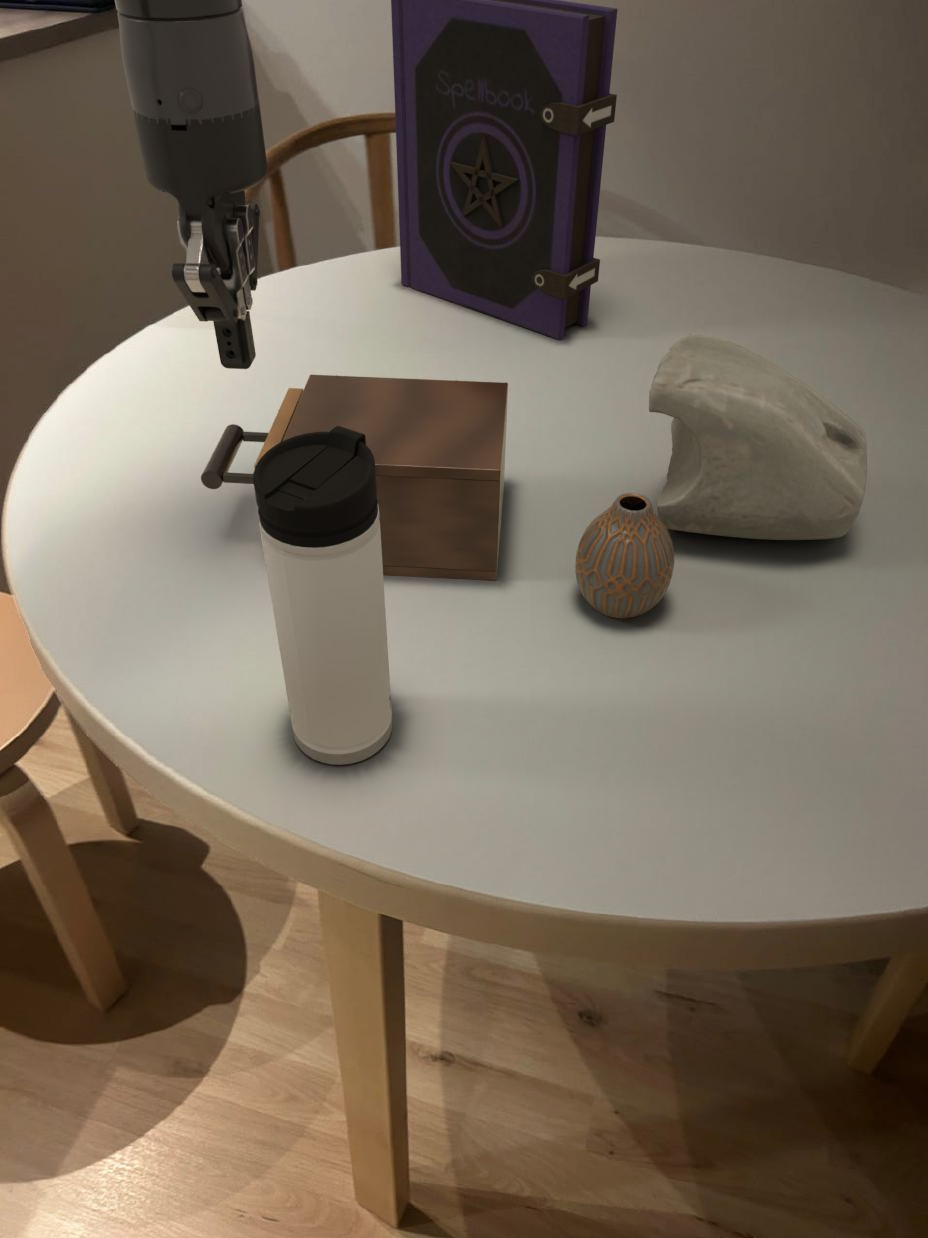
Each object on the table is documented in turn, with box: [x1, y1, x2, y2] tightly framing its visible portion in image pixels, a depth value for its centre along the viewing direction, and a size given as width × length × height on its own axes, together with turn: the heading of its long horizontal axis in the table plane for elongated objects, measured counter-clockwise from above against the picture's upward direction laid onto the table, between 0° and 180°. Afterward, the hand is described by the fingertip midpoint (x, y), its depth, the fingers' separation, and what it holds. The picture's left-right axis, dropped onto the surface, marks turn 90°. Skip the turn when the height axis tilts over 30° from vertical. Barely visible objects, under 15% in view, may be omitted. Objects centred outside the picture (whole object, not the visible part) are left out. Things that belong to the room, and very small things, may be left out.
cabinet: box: [283, 374, 509, 582], centre depth 74 cm, size 16×13×10 cm
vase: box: [575, 492, 675, 619], centre depth 68 cm, size 7×7×9 cm
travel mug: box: [252, 426, 393, 766], centre depth 54 cm, size 6×7×20 cm
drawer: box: [200, 387, 304, 490], centre depth 74 cm, size 20×12×8 cm, turn 86°
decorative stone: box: [648, 333, 868, 541], centre depth 73 cm, size 12×17×15 cm
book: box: [390, 0, 618, 342], centre depth 100 cm, size 24×6×30 cm, turn 50°
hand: (239, 363), depth 69 cm, fingers closed
